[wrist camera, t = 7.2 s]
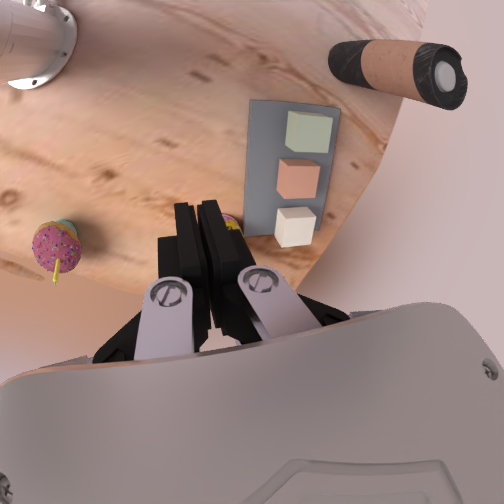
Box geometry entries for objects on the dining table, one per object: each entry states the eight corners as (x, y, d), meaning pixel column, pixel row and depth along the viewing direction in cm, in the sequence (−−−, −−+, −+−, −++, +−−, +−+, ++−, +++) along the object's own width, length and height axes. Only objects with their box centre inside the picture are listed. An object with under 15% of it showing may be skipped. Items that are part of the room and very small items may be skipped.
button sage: (288, 110, 33) (298, 114, 31) (321, 113, 35) (333, 118, 32) (284, 145, 36) (294, 151, 34) (316, 146, 37) (327, 153, 35)
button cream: (277, 208, 42) (285, 218, 40) (307, 206, 43) (316, 216, 41) (274, 235, 45) (281, 247, 42) (302, 233, 46) (310, 244, 44)
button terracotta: (279, 158, 39) (288, 166, 36) (310, 159, 40) (320, 166, 37) (276, 189, 42) (284, 199, 39) (305, 188, 43) (314, 197, 40)
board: (249, 99, 34) (256, 101, 31) (336, 107, 38) (348, 111, 35) (242, 233, 47) (247, 244, 44) (316, 226, 50) (324, 236, 48)
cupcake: (90, 216, 37) (71, 264, 28) (84, 259, 41) (70, 310, 32) (43, 204, 33) (13, 249, 24) (41, 248, 37) (18, 297, 28)
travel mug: (322, 77, 34) (423, 96, 19) (331, 34, 30) (435, 31, 14) (361, 90, 36) (460, 121, 21) (370, 50, 32) (472, 64, 17)
